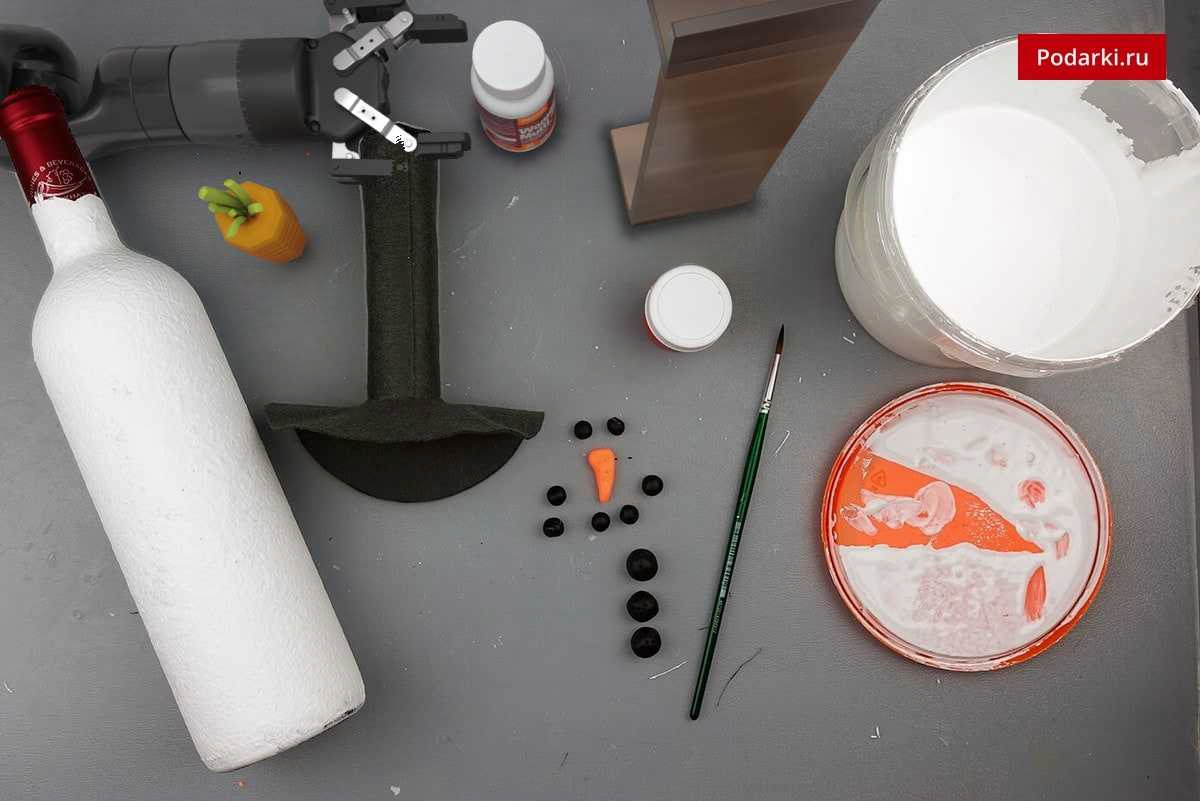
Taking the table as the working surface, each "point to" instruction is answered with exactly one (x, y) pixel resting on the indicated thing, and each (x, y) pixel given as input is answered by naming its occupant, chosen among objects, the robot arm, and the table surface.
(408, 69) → the table surface
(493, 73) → the pill bottle
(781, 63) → the stand
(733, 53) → the rack
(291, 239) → the carrot
